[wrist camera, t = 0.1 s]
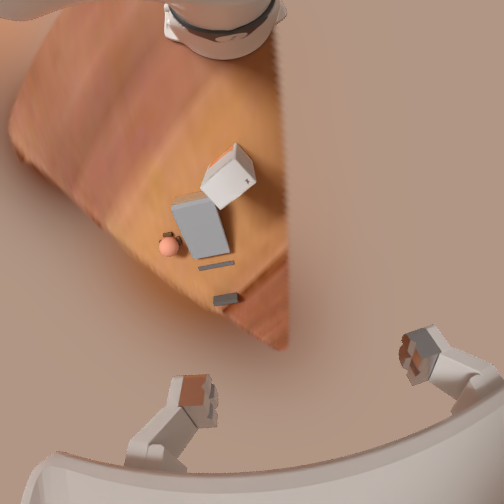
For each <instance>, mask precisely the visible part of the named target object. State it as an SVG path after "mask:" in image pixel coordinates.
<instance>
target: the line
mask: <svg viewBox="0 0 504 504" xmlns="http://www.w3.org/2000/svg"><path fill="white" fill-rule="evenodd" d="M228 265H234V262H233V261H229V262H223V263H218V264H212V265H207V266H202V267H198V268H199V271H201V270H206V269H212V268H217V267H223V266H228Z"/></svg>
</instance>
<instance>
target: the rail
mask: <svg viewBox="0 0 504 504" xmlns="http://www.w3.org/2000/svg"><path fill="white" fill-rule="evenodd" d="M213 303H214V306H220V305H226V304H232V303H238V294H237V293H231V294H225V295H219V296H214V300H213Z"/></svg>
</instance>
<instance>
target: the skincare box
mask: <svg viewBox="0 0 504 504" xmlns="http://www.w3.org/2000/svg"><path fill="white" fill-rule="evenodd" d="M256 182H257V181H256V176H255V171H254V166H253V161H252V160H251V159H250V157H249V156H248V155H247V154H246V153H245V151H244V150H243V149H242V148H241V147H240V146H239V145H238V144H237V143H235V144H234V145H233V146H231V147H230V148H229V149H228V150H227V151H225V152H224V153H223V154H222V155H221V156H219V157H218V158H217V159H216V160H214V161H213V162H212V163H211V164H209V167H208V169H207V171H206V174H205V176H204V179H203V182H202V184H201V187H200V189H201V190H202V191H203V192H204V193H205V194H206V195H207V196H208V198H209V199H210V200H211V201H212V202H213V203H214V204H215V205H216V206H217V207H218V208H219V209H220V210H222V209H223V208H224V207H226V206H227V205H228V204H230V203H231V202H232V201H233V200H235V199H237V198H238V197H239V196H240V195H241V194H243V193H244V192H245V191H246V190H248V189H249V188H250V187H251V186H253V185H254V184H255V183H256Z"/></svg>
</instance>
